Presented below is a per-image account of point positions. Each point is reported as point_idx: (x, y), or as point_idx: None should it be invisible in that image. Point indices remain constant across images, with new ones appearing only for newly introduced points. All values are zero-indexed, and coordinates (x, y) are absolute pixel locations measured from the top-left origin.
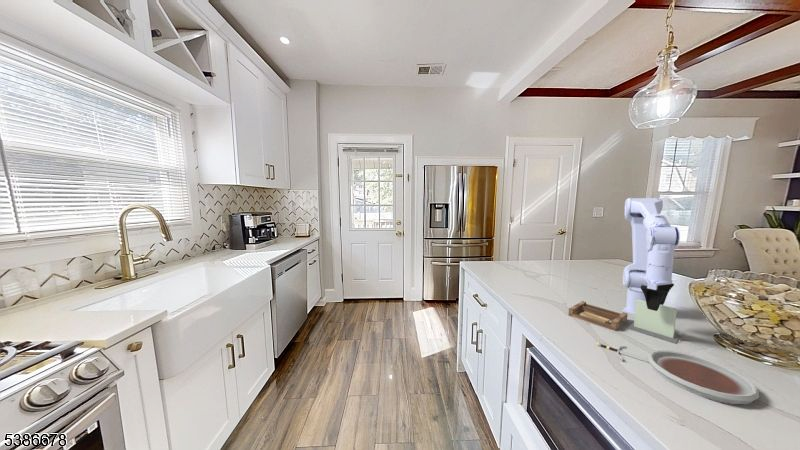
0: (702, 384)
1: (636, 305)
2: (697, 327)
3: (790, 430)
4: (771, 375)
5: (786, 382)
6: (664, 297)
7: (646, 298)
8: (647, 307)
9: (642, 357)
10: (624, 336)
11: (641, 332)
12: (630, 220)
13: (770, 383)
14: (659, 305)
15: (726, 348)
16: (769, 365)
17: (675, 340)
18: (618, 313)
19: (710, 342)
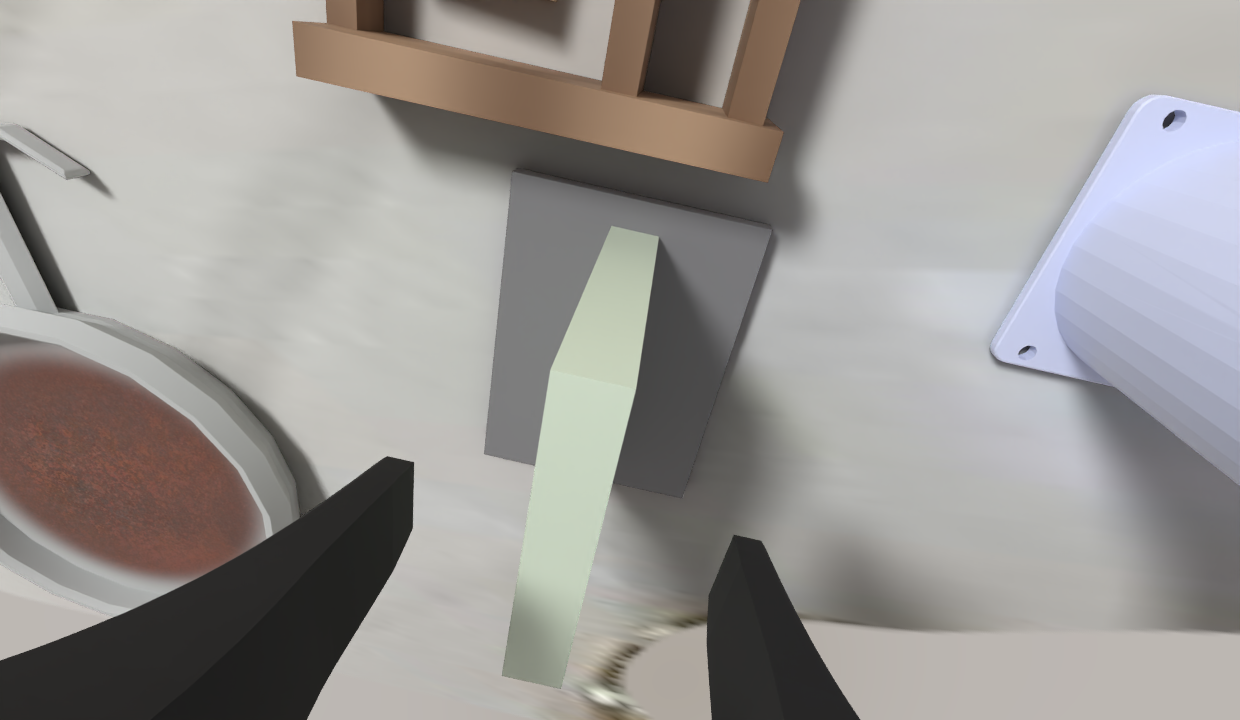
0: (36, 479)
1: (569, 336)
2: (970, 589)
3: (60, 603)
4: (469, 673)
5: (443, 688)
6: (717, 716)
7: (243, 562)
8: (373, 465)
9: (13, 273)
10: (329, 154)
11: (501, 279)
12: None
13: (379, 652)
14: (365, 605)
15: (667, 627)
16: (580, 695)
17: (535, 457)
18: (748, 76)
19: (706, 591)
